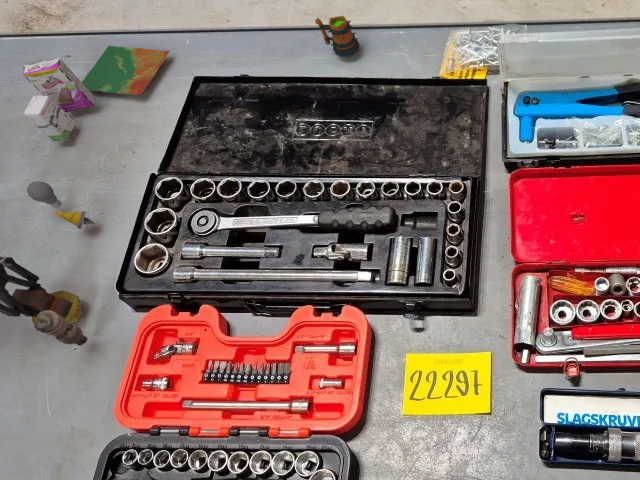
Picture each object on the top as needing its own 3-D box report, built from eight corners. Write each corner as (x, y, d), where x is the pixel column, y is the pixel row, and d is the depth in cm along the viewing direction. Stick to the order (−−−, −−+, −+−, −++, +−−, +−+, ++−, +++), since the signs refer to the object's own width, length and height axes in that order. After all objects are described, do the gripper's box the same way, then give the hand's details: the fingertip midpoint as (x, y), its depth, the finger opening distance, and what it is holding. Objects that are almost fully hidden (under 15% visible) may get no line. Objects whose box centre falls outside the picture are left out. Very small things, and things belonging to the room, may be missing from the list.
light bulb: (44, 209, 165) (16, 189, 156) (59, 195, 168) (32, 174, 159) (58, 216, 164) (31, 195, 155) (73, 201, 166) (47, 181, 157)
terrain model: (170, 52, 196) (169, 50, 195) (141, 96, 186) (140, 94, 186) (108, 45, 198) (107, 44, 198) (77, 88, 189) (75, 87, 188)
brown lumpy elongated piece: (81, 331, 147) (36, 307, 133) (99, 332, 146) (56, 309, 133) (71, 350, 144) (24, 327, 131) (90, 351, 144) (45, 329, 130)
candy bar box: (61, 114, 183) (21, 75, 168) (62, 104, 185) (22, 64, 170) (95, 107, 184) (58, 67, 170) (96, 97, 186) (59, 56, 172)
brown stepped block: (24, 315, 147) (0, 303, 140) (31, 300, 149) (8, 288, 142) (65, 317, 146) (43, 305, 139) (72, 303, 148) (51, 290, 141)
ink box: (67, 141, 178) (38, 114, 167) (52, 141, 178) (22, 114, 167) (76, 122, 181) (48, 94, 171) (61, 122, 181) (32, 94, 171)
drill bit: (91, 234, 161) (49, 223, 155) (93, 227, 165) (52, 216, 159) (96, 219, 160) (54, 207, 154) (98, 212, 164) (56, 200, 157)
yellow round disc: (35, 306, 151) (28, 302, 149) (78, 287, 153) (73, 283, 151) (41, 340, 146) (35, 337, 144) (86, 320, 148) (80, 316, 146)
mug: (362, 38, 197) (353, 8, 187) (358, 57, 193) (348, 28, 182) (327, 38, 197) (316, 9, 187) (322, 57, 193) (311, 28, 183)
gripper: (-37, 299, 122) (45, 339, 143) (1, 235, 130) (74, 281, 151) (-67, 298, 123) (19, 337, 144) (-28, 234, 130) (49, 280, 151)
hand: (47, 308), depth 147 cm, fingers closed on brown stepped block, 4 cm apart
